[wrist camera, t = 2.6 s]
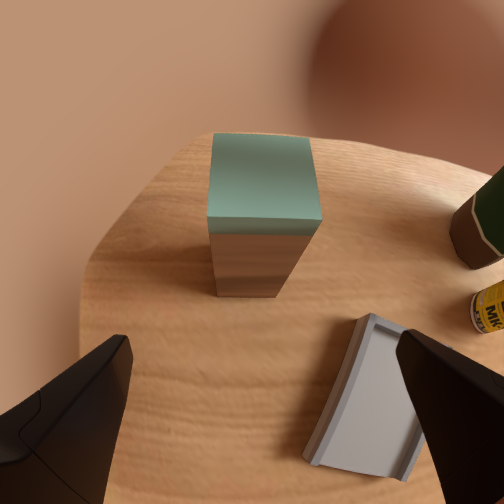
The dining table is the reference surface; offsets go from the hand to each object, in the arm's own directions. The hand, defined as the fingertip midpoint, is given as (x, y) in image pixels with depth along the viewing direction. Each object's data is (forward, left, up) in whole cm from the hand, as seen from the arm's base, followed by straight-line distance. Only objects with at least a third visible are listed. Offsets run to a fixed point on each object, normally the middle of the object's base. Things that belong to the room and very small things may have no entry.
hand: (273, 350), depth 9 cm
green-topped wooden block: (+7, +3, -13) cm, 15 cm away
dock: (+1, -11, -13) cm, 18 cm away
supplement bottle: (+13, -22, -13) cm, 29 cm away
